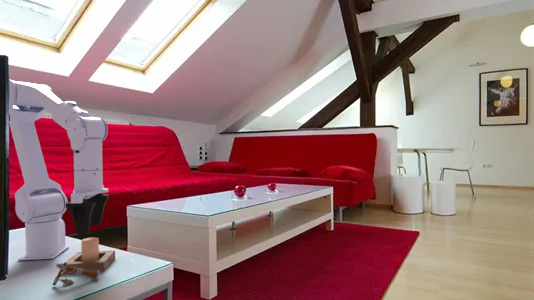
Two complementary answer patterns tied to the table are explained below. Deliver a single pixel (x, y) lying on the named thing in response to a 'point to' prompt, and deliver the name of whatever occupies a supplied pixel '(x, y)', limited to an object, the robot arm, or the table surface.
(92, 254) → the terracotta peg
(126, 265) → the table surface
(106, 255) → the walnut socket collar
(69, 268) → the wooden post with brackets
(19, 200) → the robot arm
